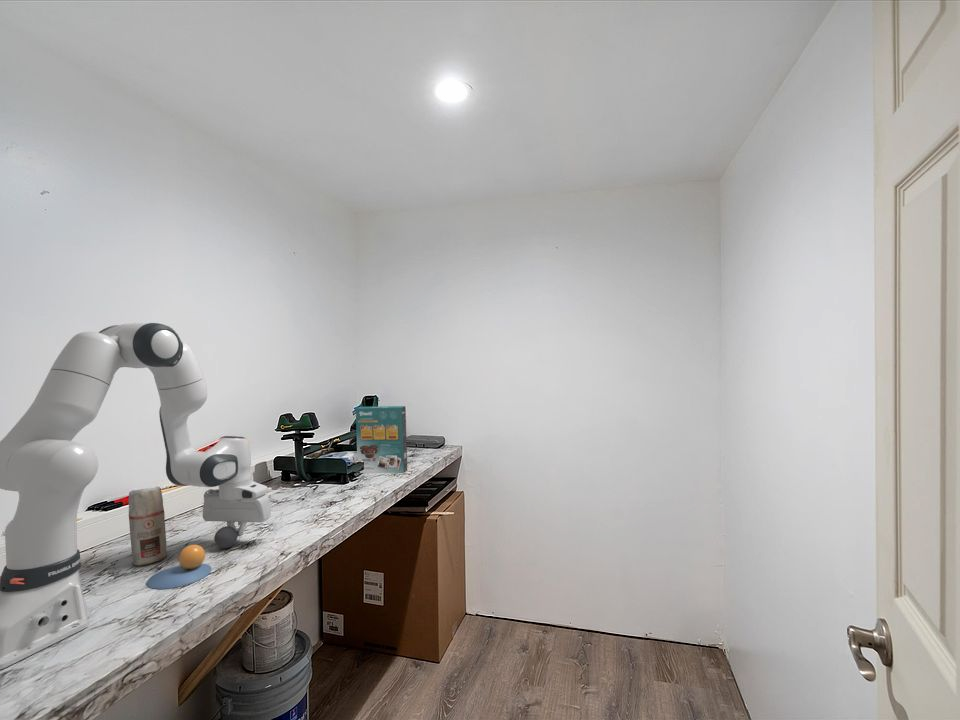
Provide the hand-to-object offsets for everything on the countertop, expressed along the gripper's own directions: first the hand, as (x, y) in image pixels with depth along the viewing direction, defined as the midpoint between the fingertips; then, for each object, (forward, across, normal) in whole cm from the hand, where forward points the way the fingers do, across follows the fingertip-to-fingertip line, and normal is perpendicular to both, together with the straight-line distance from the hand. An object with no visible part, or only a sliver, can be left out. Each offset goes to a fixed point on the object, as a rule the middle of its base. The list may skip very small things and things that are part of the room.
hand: (237, 535), depth 148 cm
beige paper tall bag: (+2, -16, -15) cm, 22 cm away
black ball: (-1, 0, -5) cm, 5 cm away
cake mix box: (+2, +15, +85) cm, 86 cm away
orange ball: (-1, 0, -19) cm, 19 cm away
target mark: (+2, 0, -23) cm, 23 cm away
